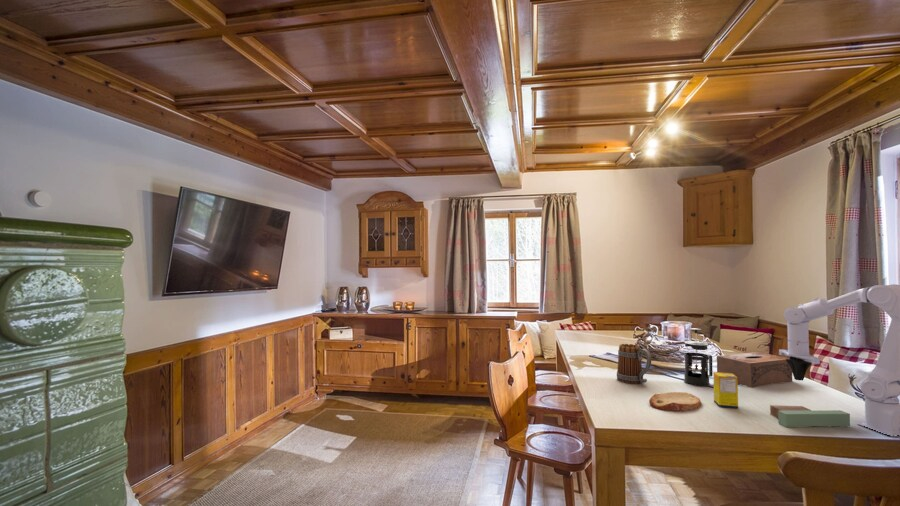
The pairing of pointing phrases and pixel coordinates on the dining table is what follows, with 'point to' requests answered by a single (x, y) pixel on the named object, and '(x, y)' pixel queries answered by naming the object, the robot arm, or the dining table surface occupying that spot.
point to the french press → (691, 377)
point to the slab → (785, 409)
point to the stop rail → (813, 418)
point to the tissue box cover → (755, 368)
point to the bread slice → (675, 401)
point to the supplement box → (725, 390)
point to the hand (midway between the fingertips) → (798, 379)
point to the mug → (632, 364)
